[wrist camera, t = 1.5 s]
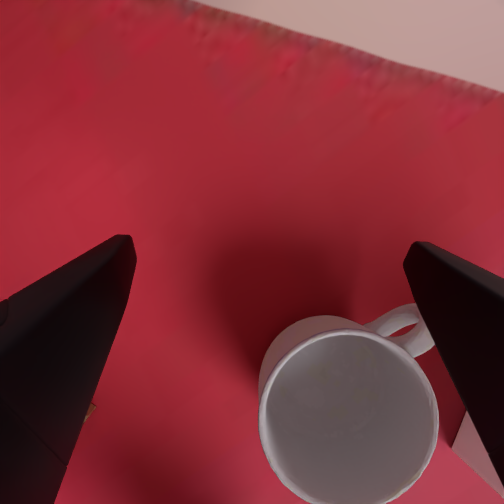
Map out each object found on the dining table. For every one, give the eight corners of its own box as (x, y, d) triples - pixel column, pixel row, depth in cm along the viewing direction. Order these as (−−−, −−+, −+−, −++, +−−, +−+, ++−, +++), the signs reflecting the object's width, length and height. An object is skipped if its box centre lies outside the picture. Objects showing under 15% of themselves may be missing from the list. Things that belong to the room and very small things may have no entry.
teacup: (296, 452, 25) (327, 552, 17) (225, 351, 24) (221, 404, 16) (426, 358, 25) (515, 411, 17) (359, 257, 25) (421, 263, 17)
